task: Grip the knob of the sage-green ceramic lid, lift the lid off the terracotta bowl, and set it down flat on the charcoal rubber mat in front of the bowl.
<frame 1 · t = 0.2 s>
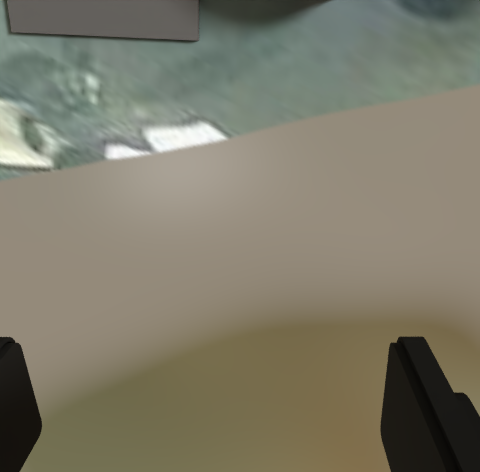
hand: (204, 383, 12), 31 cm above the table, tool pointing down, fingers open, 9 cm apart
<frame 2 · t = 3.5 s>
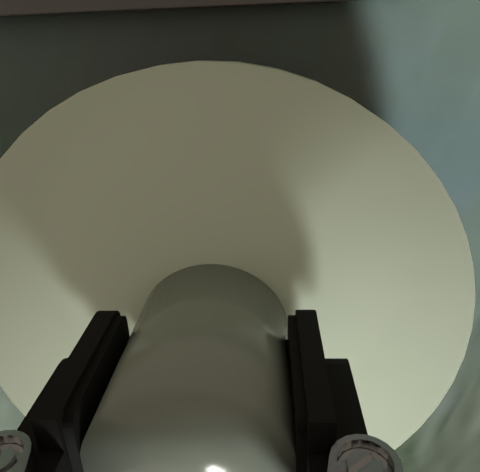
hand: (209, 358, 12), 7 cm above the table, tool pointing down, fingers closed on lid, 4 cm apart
lid: (217, 311, 15), point 5 cm above the table, touching bowl, gripper
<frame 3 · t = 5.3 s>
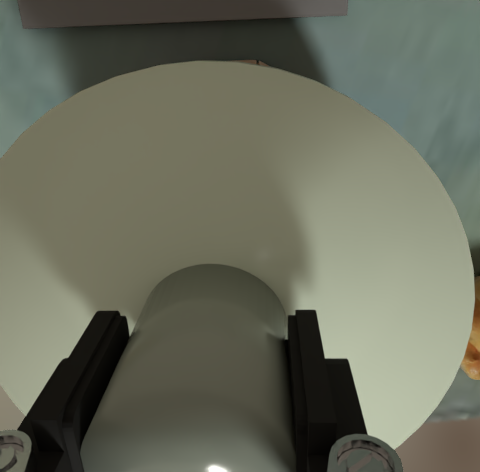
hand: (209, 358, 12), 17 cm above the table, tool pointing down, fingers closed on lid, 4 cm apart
lid: (217, 311, 15), point 14 cm above the table, touching gripper
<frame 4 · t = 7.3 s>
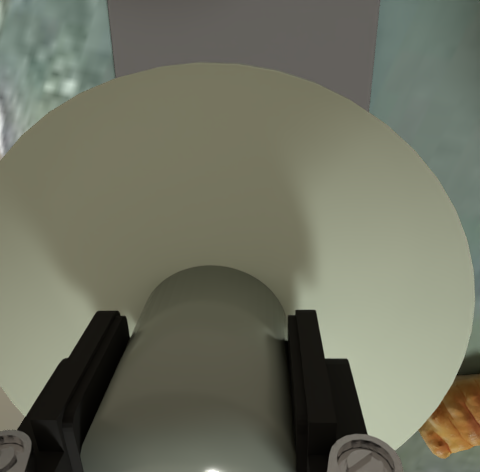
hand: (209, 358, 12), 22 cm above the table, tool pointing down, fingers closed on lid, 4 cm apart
pastry: (452, 398, 41), on the table
lid: (217, 312, 15), point 20 cm above the table, touching gripper
mat: (242, 109, 32), on the table
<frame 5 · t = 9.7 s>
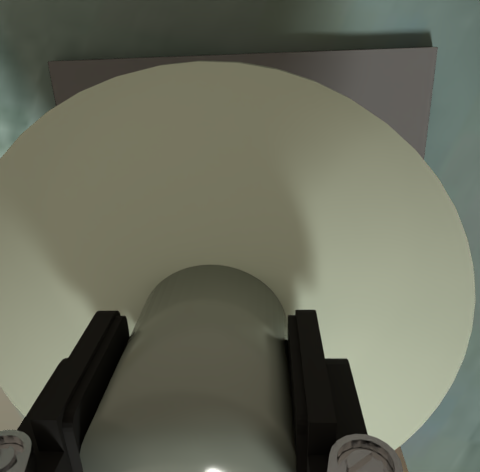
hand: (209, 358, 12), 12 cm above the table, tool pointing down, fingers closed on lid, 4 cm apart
lid: (217, 311, 15), point 10 cm above the table, touching gripper
mat: (243, 211, 23), on the table
when the fingers open (5 cm above the table, at t = 11.5 s): lid drops 2 cm, resting on mat.
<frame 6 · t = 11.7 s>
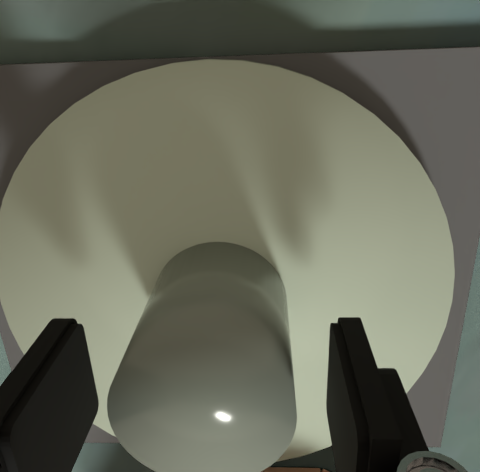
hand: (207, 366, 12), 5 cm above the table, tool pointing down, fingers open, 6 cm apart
lid: (222, 287, 16), point 1 cm above the table, touching mat
mat: (222, 278, 17), on the table
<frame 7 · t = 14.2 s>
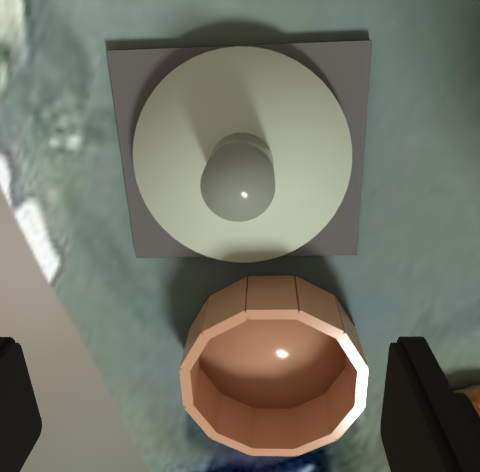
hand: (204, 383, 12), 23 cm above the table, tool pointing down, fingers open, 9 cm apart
bowl: (271, 347, 39), on the table
pastry: (440, 413, 42), on the table
lid: (242, 161, 32), point 1 cm above the table, touching mat
mat: (241, 158, 33), on the table
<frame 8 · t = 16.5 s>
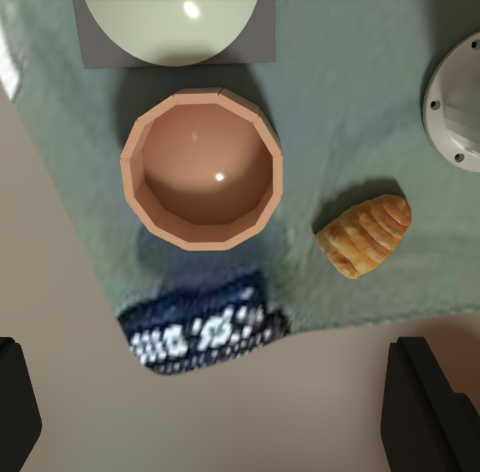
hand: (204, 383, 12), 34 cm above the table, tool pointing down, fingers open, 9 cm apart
bowl: (208, 163, 44), on the table
pastry: (357, 230, 47), on the table
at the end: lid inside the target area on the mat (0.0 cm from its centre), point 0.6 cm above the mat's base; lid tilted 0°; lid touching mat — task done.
